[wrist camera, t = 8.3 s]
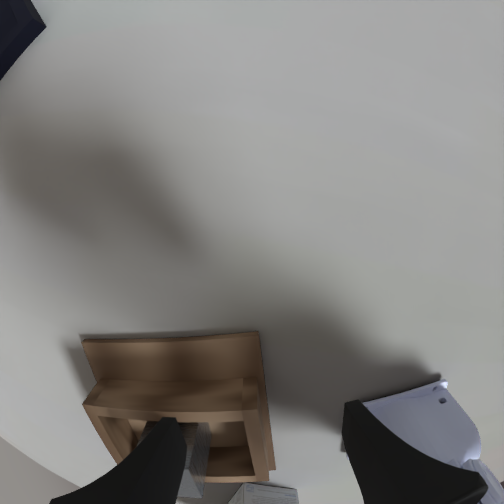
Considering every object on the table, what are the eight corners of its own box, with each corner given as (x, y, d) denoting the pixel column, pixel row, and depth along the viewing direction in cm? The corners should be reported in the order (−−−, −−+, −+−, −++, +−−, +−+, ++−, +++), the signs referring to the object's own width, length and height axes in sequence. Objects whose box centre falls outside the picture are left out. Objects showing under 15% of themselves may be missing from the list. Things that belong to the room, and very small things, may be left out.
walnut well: (258, 331, 20) (259, 364, 16) (275, 465, 24) (277, 497, 19) (84, 339, 20) (59, 365, 16) (143, 463, 24) (133, 491, 20)
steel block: (202, 401, 21) (188, 469, 14) (211, 434, 22) (202, 498, 15) (155, 400, 21) (129, 463, 14) (167, 433, 22) (149, 492, 15)
